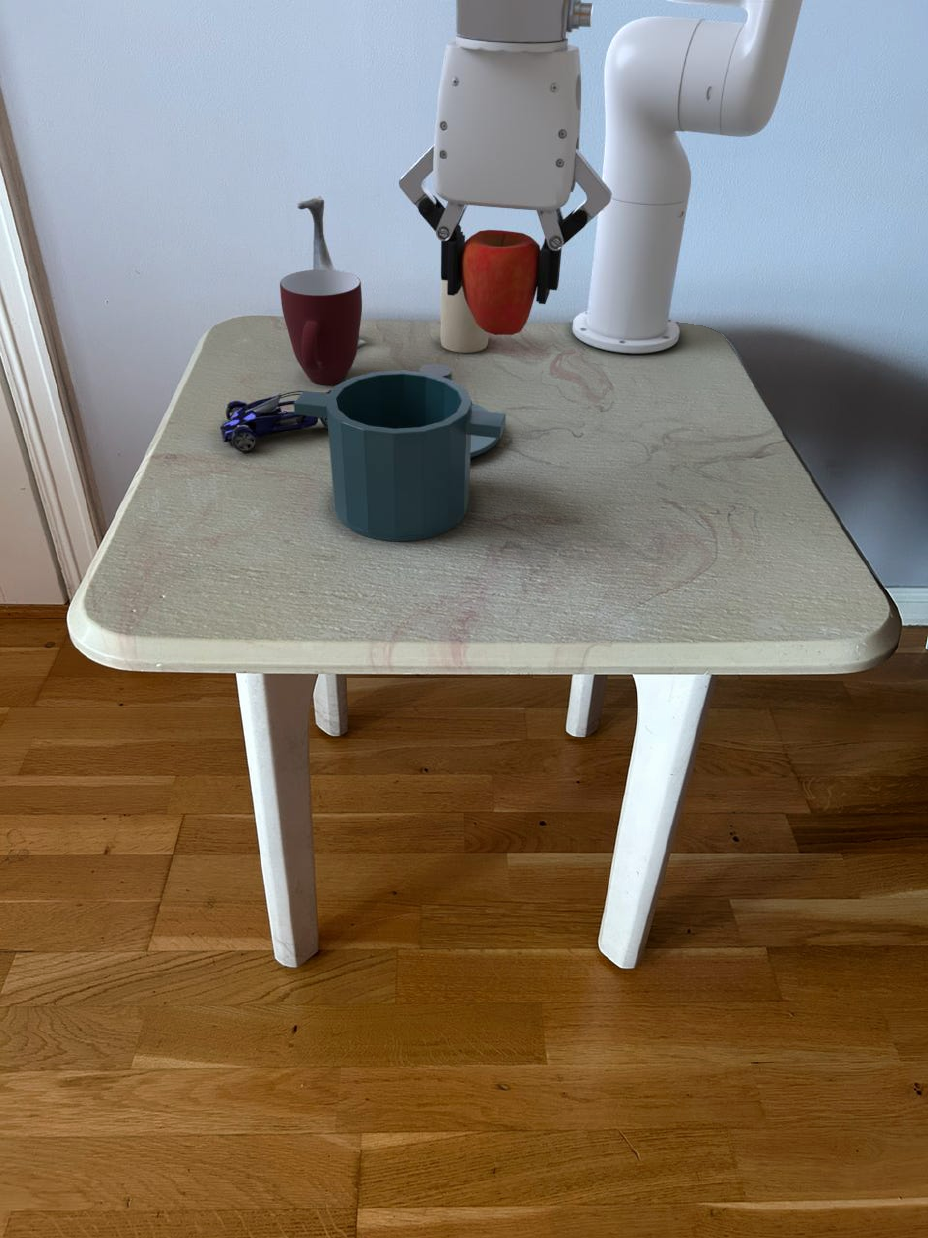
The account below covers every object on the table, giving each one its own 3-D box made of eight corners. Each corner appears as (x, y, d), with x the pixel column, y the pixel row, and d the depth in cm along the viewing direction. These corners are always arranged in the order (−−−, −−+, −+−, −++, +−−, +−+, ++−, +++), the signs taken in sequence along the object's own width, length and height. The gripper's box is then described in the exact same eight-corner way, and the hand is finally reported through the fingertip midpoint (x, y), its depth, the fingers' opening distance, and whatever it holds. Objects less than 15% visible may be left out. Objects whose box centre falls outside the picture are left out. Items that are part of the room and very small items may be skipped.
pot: (328, 461, 81) (320, 360, 75) (508, 484, 79) (515, 381, 73) (284, 526, 72) (271, 418, 67) (485, 554, 70) (490, 444, 64)
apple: (442, 327, 72) (444, 229, 67) (497, 310, 76) (502, 216, 71) (497, 351, 69) (502, 249, 64) (551, 332, 72) (561, 235, 67)
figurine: (373, 361, 99) (367, 217, 90) (315, 365, 98) (303, 220, 88) (358, 325, 107) (351, 190, 98) (304, 329, 106) (292, 192, 97)
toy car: (225, 455, 81) (218, 415, 79) (218, 424, 86) (212, 386, 84) (354, 440, 84) (352, 401, 82) (341, 411, 89) (339, 373, 87)
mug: (361, 404, 90) (356, 305, 84) (280, 403, 90) (269, 304, 84) (367, 362, 99) (363, 269, 92) (294, 361, 98) (285, 268, 92)
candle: (495, 349, 102) (499, 259, 96) (450, 355, 101) (451, 264, 94) (477, 332, 106) (480, 245, 100) (433, 338, 105) (434, 249, 98)
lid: (389, 401, 91) (387, 338, 87) (509, 415, 89) (513, 351, 85) (353, 458, 82) (349, 390, 77) (487, 475, 80) (490, 406, 76)
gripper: (646, 21, 61) (612, 288, 72) (400, 9, 63) (403, 270, 74) (642, 32, 55) (605, 321, 66) (370, 18, 57) (379, 299, 69)
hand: (499, 291), depth 70 cm, fingers closed on apple, 6 cm apart
